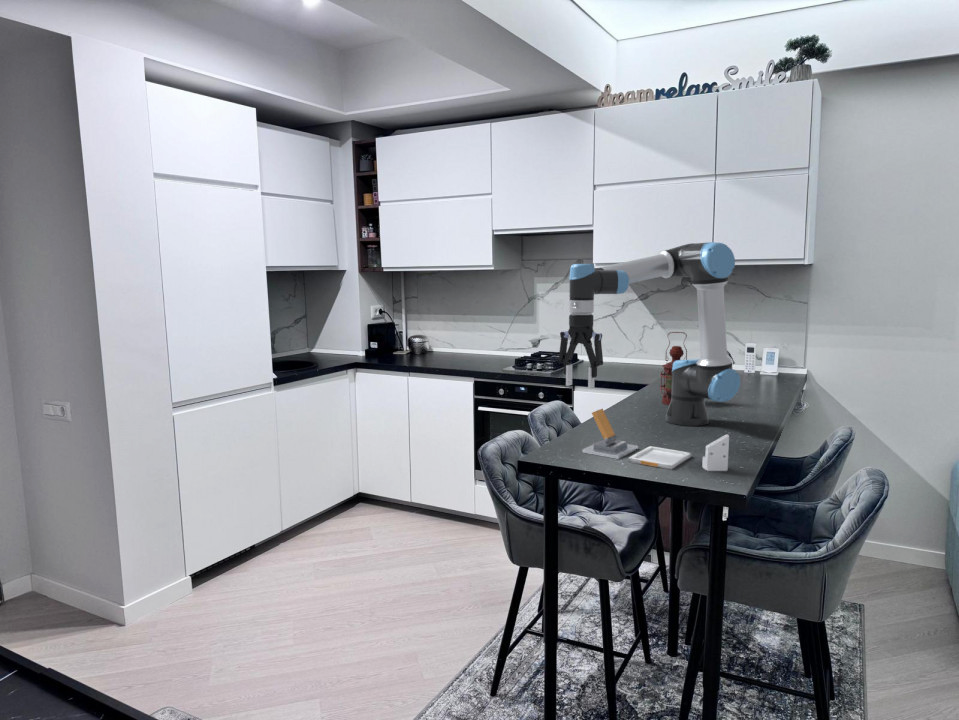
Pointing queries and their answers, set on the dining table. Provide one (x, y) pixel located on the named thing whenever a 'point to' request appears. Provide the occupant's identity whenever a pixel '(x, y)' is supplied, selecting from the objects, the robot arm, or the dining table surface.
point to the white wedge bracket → (717, 455)
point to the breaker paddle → (604, 426)
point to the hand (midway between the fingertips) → (580, 386)
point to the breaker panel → (610, 449)
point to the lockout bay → (660, 457)
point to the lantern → (670, 371)
